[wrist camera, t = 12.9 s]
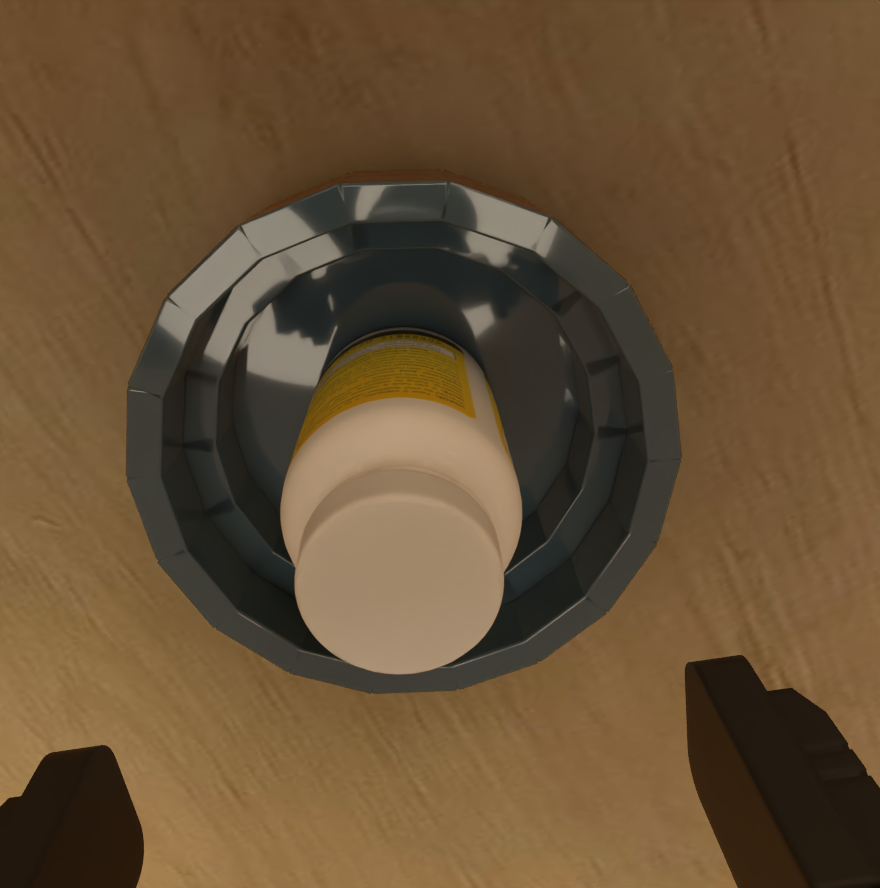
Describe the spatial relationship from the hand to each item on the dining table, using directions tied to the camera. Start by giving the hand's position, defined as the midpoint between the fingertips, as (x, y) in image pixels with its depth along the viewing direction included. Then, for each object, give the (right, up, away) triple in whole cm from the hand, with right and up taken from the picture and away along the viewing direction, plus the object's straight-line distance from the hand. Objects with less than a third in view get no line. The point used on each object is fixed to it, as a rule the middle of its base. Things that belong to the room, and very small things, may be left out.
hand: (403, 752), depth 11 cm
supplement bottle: (-1, +5, +13) cm, 14 cm away
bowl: (-1, +5, +14) cm, 15 cm away
